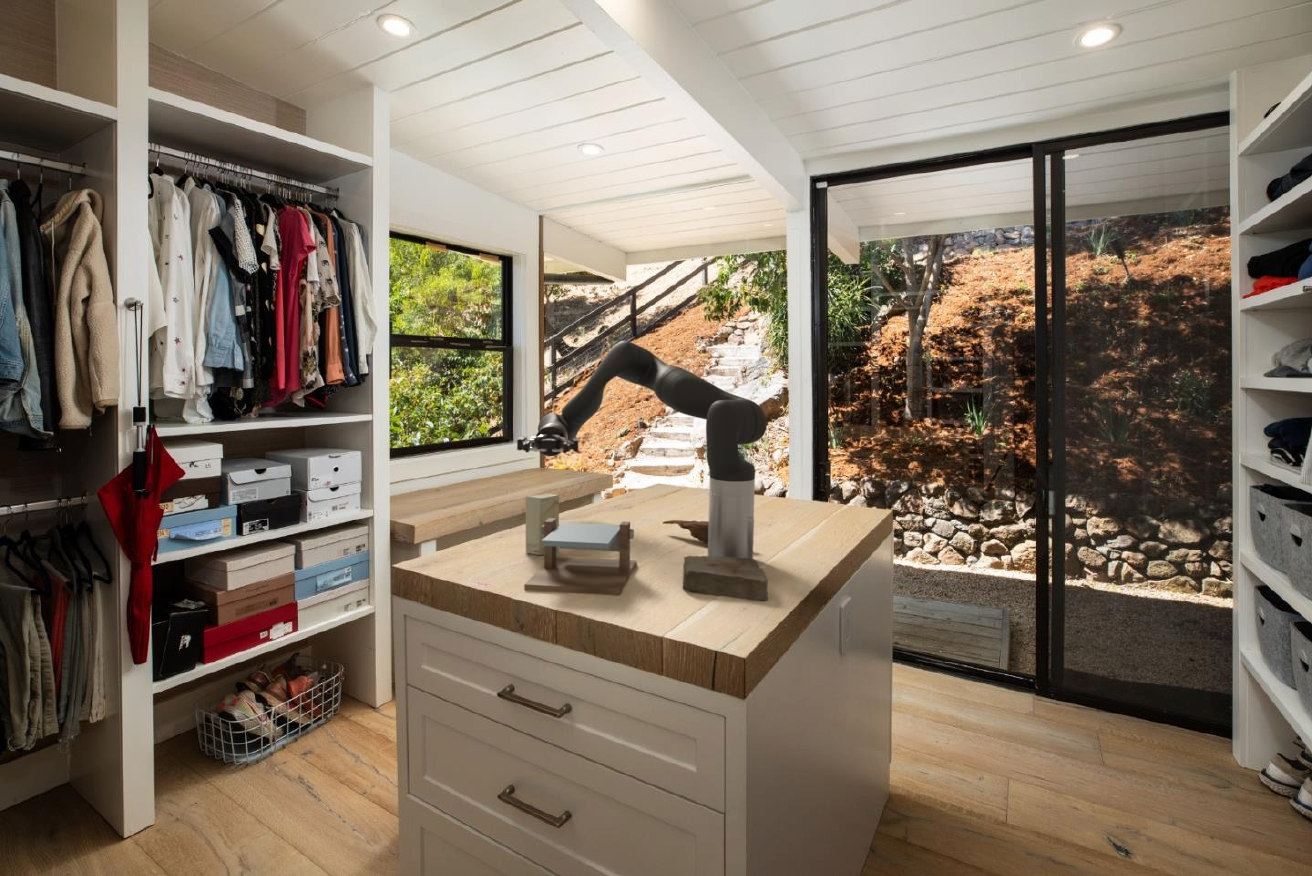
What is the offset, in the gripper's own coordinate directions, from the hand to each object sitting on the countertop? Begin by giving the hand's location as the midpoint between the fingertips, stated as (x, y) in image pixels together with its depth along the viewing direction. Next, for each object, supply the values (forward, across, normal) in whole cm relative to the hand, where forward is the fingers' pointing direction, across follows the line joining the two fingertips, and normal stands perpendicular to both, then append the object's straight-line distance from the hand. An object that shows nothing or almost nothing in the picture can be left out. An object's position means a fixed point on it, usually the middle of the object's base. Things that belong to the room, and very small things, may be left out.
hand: (545, 448), depth 154 cm
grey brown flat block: (+35, +36, +20) cm, 54 cm away
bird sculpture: (+3, +37, +21) cm, 42 cm away
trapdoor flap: (+30, +10, +16) cm, 35 cm away
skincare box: (+11, +1, +21) cm, 24 cm away
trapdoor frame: (+30, +10, +20) cm, 37 cm away
